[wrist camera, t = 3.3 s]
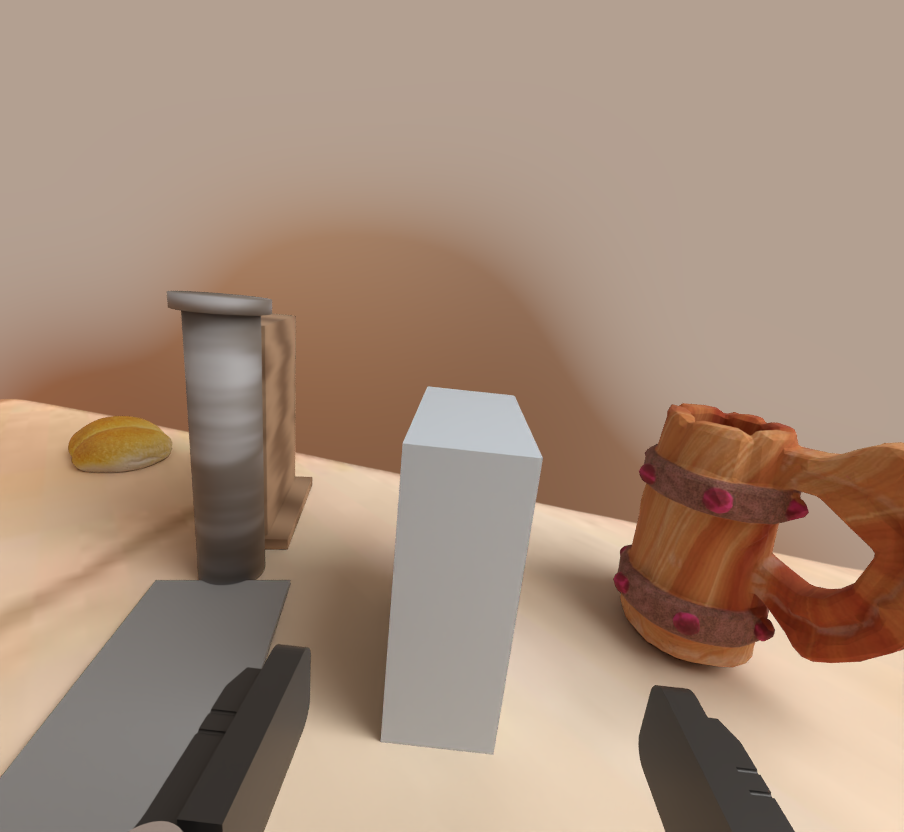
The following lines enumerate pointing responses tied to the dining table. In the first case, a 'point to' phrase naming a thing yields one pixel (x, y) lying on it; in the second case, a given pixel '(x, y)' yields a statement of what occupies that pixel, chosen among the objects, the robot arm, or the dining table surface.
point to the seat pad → (138, 706)
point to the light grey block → (457, 568)
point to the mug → (758, 543)
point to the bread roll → (118, 445)
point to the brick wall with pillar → (240, 431)
